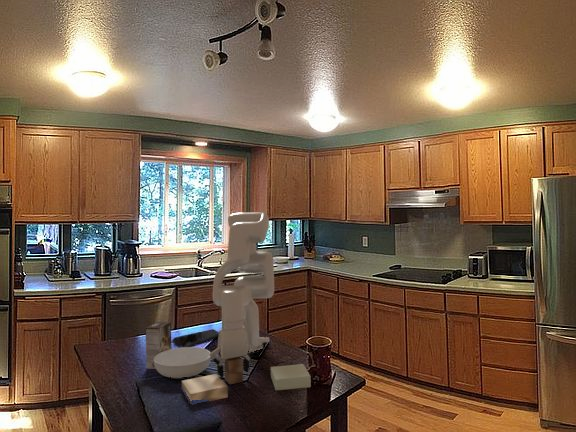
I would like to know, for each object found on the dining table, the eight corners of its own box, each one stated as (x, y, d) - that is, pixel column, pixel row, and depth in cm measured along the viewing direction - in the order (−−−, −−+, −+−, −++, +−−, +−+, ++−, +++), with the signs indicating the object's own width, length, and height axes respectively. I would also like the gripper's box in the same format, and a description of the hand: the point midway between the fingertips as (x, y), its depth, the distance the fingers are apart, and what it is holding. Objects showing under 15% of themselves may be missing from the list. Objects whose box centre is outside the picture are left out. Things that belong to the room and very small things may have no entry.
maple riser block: (216, 385, 145) (216, 373, 145) (227, 398, 134) (227, 386, 134) (181, 392, 140) (181, 380, 140) (190, 407, 129) (190, 394, 129)
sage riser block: (303, 374, 153) (303, 363, 153) (310, 388, 141) (310, 376, 141) (270, 378, 151) (270, 366, 151) (275, 391, 139) (275, 379, 139)
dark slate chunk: (225, 338, 200) (225, 328, 200) (184, 349, 185) (184, 338, 185) (207, 332, 211) (207, 323, 211) (167, 342, 196) (167, 332, 196)
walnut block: (237, 376, 151) (237, 354, 151) (243, 381, 147) (242, 358, 147) (224, 379, 149) (224, 357, 149) (229, 384, 144) (229, 361, 144)
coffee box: (157, 360, 170) (157, 321, 170) (172, 361, 169) (171, 321, 169) (145, 368, 161) (144, 327, 161) (161, 369, 160) (160, 328, 160)
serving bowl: (182, 389, 141) (182, 369, 141) (141, 378, 152) (141, 359, 152) (223, 369, 159) (222, 351, 159) (183, 360, 170) (183, 343, 170)
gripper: (251, 319, 155) (252, 365, 155) (205, 325, 147) (206, 374, 147) (259, 323, 148) (260, 372, 148) (212, 330, 140) (213, 382, 140)
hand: (233, 373), depth 148 cm, fingers open, 8 cm apart
